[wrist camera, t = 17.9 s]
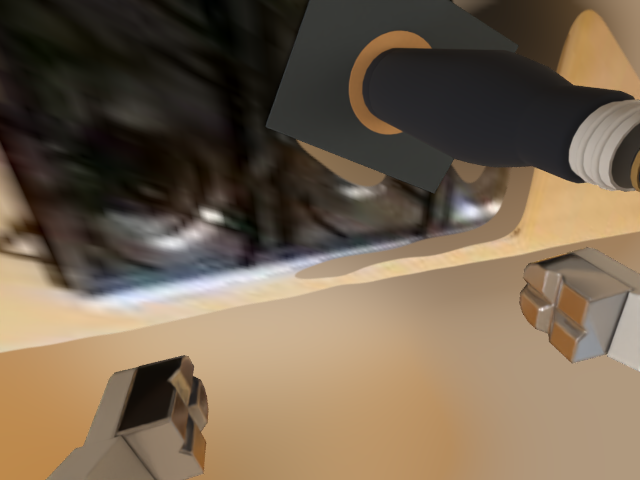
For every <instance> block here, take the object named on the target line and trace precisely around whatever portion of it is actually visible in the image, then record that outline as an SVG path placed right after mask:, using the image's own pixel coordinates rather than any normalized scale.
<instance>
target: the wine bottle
mask: <svg viewBox="0 0 640 480" xmlns="http://www.w3.org/2000/svg"><path fill="white" fill-rule="evenodd" d="M362 95H363V99H364V102H365V105H366V106H367V108H368V110H369V111H370V113H371V114H373V115H374V116H375V117H377V118H378V119H380V120H382V121H384V122H386V123H387V124H389V125H391V126H393V127H395V128H397V129H399V130H401V131H403V132H405V133H407V134H408V135H410V136H412V137H414V138H416V139H418V140H420V141H422V142H424V143H426V144H428V145H429V146H431V147H433V148H435V149H437V150H439V151H441V152H443V153H445V154H447V155H449V156H451V157H452V158H454V159H457V160H461V161H464V162H468V163H472V164H477V165H482V166H489V167H525V166H533V167H536V168H538V169H541V170H543V171H546V172H548V173H551V174H553V175H555V176H558V177H560V178H563V179H565V180H568V181H571V182H575V183H590V184H594V185H598V186H599V187H600V188H602V189H606V190H609V191H616V190H621V191H624V192H627V191H635V190H637V191H638V192H640V100H635V99H634V97H633V96H631V95H629V94H627V93H624V92H622V91H616V90H608V89H600V88H592V87H583V86H575V85H573V84H571V83H570V82H569V81H567V80H566V79H564V78H563V77H562V76H560V75H559V74H557V73H556V72H555V71H553V70H552V69H550V68H549V67H547V66H545V65H543V64H540V63H538V62H535V61H533V60H530V59H528V58H526V57H524V56H521V55H519V54H516V53H513V52H510V51H507V50H480V49H433V48H391V49H389V50H386V51H384V52H382V53H381V54H379V55H378V56H377V57H376V58H375V59H373V61H372V62H371V64H370V65H369V67H368V68H367V70H366V73H365V76H364V79H363V84H362Z"/></svg>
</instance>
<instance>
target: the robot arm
mask: <svg viewBox="0 0 640 480" xmlns="http://www.w3.org/2000/svg"><path fill="white" fill-rule="evenodd" d="M523 278H524V280H525V281H526V282H527V285H526V286H525V287H524V289H523V290H522V291H521V292H520V302H519V303H520V306H521V310H522V313H523V315H524V316H525V318H526V319H527V321H528V322H529V323H530V324H531V325H532V326H533V327H534V328H535V329H537V330H540V331H543V332H545V333H548V335H549V342H550V343H551V344H552V345H553V346H554V347H555V348H556V349H557V350H558V351H559V352H561V354H563V355H564V356H565V357H566V358H567V359H568V360H569V361H570V362H571V363H576V362H580V361H583V360H587V359H591V358H594V357H598V356H602V355H606V354H607V357H610V358H612V359H614V360H616V361H618V362H620V363H622V364H624V365H626V366H629V367H631V368H633V369H635V370H637V371H639V372H640V274H639V273H637V272H635V271H633V270H632V269H630V268H628V267H626V266H625V265H623V264H621V263H619V262H618V261H616V260H614V259H612V258H611V257H609V256H607V255H605V254H603V253H602V252H600V251H598V250H596V249H593V248H588V247H586V248H583V249H579V250H575V251H572V252H568V253H567V254H562V255H558V256H555V257H551V258H547V259H544V260H540V261H536V262H533V263H529V264H528V265H527V266H526V268H525V269H524V274H523ZM193 371H194V365H193V364H192V362H191V360H190V358H189V356H185V355H184V356H179V357H175V358H171V359H168V360H163V361H159V362H155V363H151V364H146V365H142V366H139V367H136V368H132V369H128V370H123V371H119V372H116V373H114V374H113V375H112V376H111V377H110V379H109V381H108V383H107V386H106V388H105V391H104V394H103V396H102V399H101V401H100V404H99V406H98V409H97V412H96V414H95V417H94V419H93V422H92V424H91V427H90V430H89V432H88V435H87V437H86V440H85V443H84V445H83V446H82V447H79V448H76V449H74V450H73V452H71V453H70V455H69V456H68V457H67V458H66V459H65V460H64V461H63V462H62V463H61V464H60V465H59V466H58V467H57V468H56V469H55V471H53V473H52V474H51V475H50V476H49V477H48V478H47V479H46V480H186V479H189V478H192V477H194V476H198V475H201V474H203V473H204V461H205V450H206V441H205V439H204V437H203V435H202V433H201V431H202V430H203V428H204V427H205V425H206V424H207V422H208V403H207V395H206V392H205V388H204V386H203V384H202V381H201V380H200V379H198V378H196V377H194V376H193Z"/></svg>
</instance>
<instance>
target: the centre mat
mask: <svg viewBox="0 0 640 480" xmlns="http://www.w3.org/2000/svg"><path fill="white" fill-rule="evenodd" d="M391 48H433V49H480V50H507V51H510V52H513V53H515V52H516V50H517V48H518V45H517V44H515V43H514V42H512V41H511V40H509V39H508V38H506V37H505V36H503V35H501V34H500V33H498V32H497V31H495V30H494V29H492V28H491V27H489V26H488V25H486V24H485V23H483V22H482V21H480V20H478V19H477V18H475V17H474V16H472V15H471V14H469V13H468V12H466V11H465V10H463V9H461V8H460V7H458V6H457V5H455V4H454V3H452V2H451V1H449V0H309V3H308V6H307V9H306V12H305V15H304V18H303V20H302V23H301V26H300V29H299V32H298V35H297V38H296V40H295V43H294V46H293V49H292V52H291V55H290V58H289V60H288V63H287V66H286V69H285V72H284V75H283V78H282V80H281V83H280V86H279V89H278V92H277V95H276V98H275V100H274V103H273V106H272V109H271V112H270V115H269V118H268V120H267V123H266V127H267V128H269V129H272V130H274V131H277V132H280V133H282V134H285V135H287V136H290V137H292V138H295V139H297V140H300V141H302V142H305V143H308V144H310V145H313V146H315V147H318V148H321V149H323V150H325V151H328V152H330V153H333V154H335V155H338V156H341V157H343V158H346V159H348V160H351V161H353V162H356V163H358V164H361V165H364V166H366V167H368V168H371V169H374V170H376V171H379V172H381V173H384V174H386V175H389V176H391V177H394V178H396V179H399V180H401V181H404V182H407V183H409V184H412V185H414V186H417V187H419V188H422V189H424V190H427V191H429V192H432V193H435V191H436V190H437V188H438V186H439V184H440V183H441V181H442V179H443V177H444V176H445V174H446V172H447V170H448V169H449V167H450V165H451V163H452V162H453V160H454V158H452V157H451V156H449V155H447V154H445V153H443V152H441V151H439V150H437V149H435V148H433V147H431V146H429V145H428V144H426V143H424V142H422V141H420V140H418V139H416V138H414V137H412V136H410V135H408V134H407V133H405V132H403V131H401V130H399V129H397V128H395V127H393V126H391V125H389V124H387V123H386V122H384V121H382V120H380V119H378V118H377V117H375V116H374V115H373V114H371V113H370V111H369V110H368V108H367V106H366V105H365V102H364V99H363V95H362V84H363V79H364V76H365V73H366V70H367V68H368V67H369V65H370V64H371V62H372V61H373V59H375V58H376V57H377V56H378V55H379V54H381V53H382V52H384V51H386V50H389V49H391Z"/></svg>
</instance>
